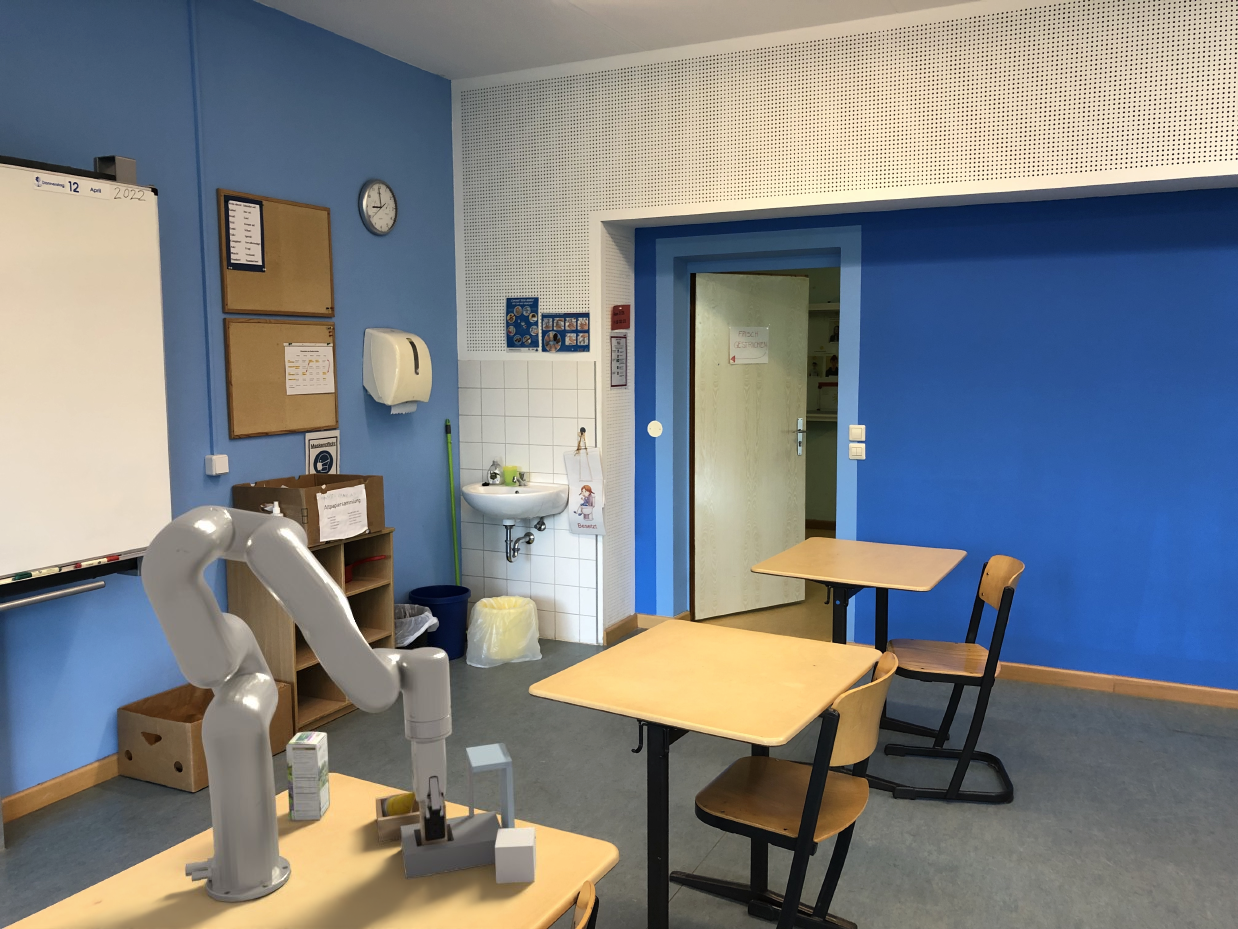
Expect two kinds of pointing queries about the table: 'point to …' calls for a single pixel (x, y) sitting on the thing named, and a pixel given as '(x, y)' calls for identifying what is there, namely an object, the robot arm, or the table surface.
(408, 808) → the yellow curved piece
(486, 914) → the table surface
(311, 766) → the syrup box
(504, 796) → the blue-grey arch piece
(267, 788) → the robot arm
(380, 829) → the divided wooden box
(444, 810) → the peg
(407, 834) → the socket
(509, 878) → the white block
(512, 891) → the table surface
